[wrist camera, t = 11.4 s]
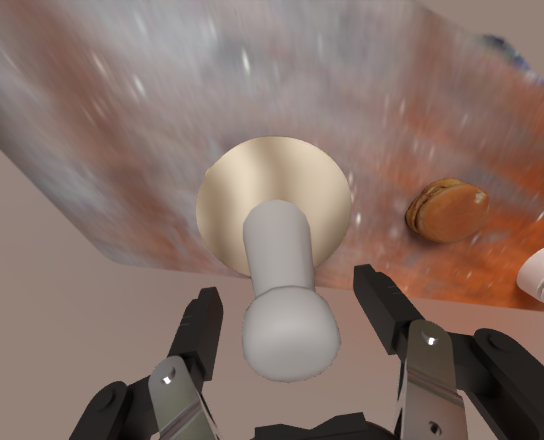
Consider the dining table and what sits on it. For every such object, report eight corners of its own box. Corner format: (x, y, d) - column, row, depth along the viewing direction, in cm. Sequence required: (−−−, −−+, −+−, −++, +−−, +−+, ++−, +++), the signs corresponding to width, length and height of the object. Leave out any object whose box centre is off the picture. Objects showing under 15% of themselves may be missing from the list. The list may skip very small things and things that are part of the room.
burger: (396, 232, 33) (416, 248, 29) (418, 176, 29) (444, 184, 25) (452, 234, 34) (479, 249, 30) (480, 179, 30) (516, 188, 26)
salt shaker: (312, 201, 19) (398, 329, 7) (292, 250, 21) (331, 406, 10) (252, 184, 18) (239, 300, 6) (237, 237, 20) (207, 395, 9)
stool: (230, 241, 32) (219, 287, 23) (203, 141, 25) (172, 152, 16) (324, 227, 32) (349, 268, 23) (321, 123, 25) (355, 123, 16)
